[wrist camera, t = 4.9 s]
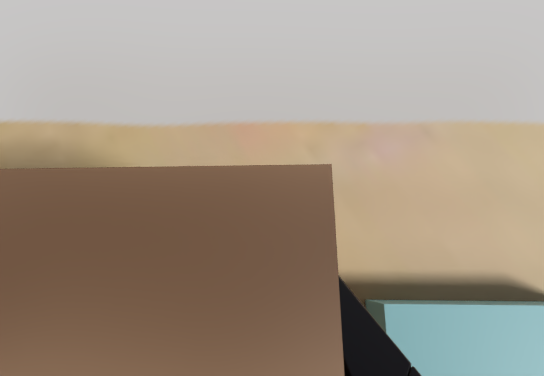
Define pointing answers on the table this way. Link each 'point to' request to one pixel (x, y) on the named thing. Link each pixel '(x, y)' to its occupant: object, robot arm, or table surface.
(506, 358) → the base brick
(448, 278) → the table surface
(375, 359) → the robot arm
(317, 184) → the walnut block
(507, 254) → the table surface
